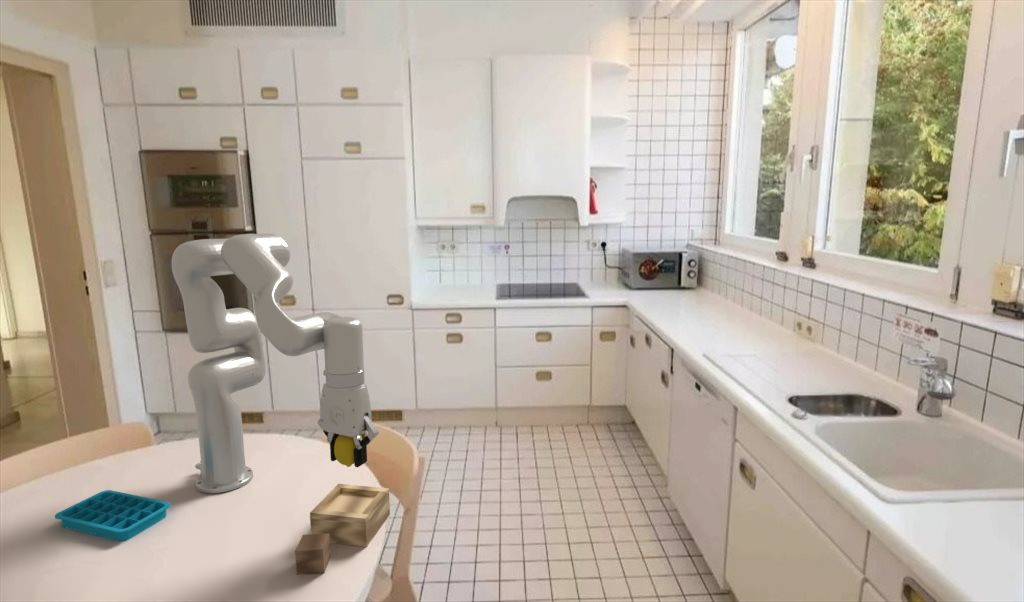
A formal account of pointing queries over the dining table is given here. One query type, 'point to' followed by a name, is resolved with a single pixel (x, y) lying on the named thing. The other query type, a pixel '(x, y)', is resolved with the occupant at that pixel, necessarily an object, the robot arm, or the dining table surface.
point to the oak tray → (351, 514)
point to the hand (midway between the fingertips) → (348, 460)
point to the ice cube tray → (114, 514)
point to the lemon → (344, 450)
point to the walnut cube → (313, 554)
